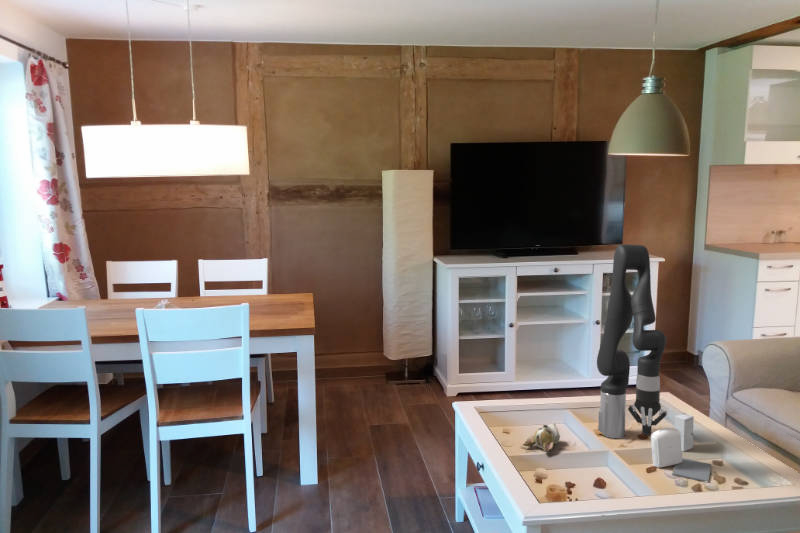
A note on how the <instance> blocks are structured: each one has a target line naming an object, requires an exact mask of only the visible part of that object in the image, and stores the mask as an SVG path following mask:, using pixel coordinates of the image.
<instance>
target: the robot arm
mask: <svg viewBox="0 0 800 533" xmlns="http://www.w3.org/2000/svg"><path fill="white" fill-rule="evenodd" d="M627 270H628V271H637V274H638V280H637V284H636V287H635V289H634V291H633V294H631V293H630V291H629V288H628V286H627V283H626V282H627V281H626V274H627V273H626V272H627ZM651 278H652V277H651V260H650V253H649V250H648V248H647V247H646V246H645V245H642V244H626V243H625V244H619V245H617V247H615V252H614V254H613V263H612V278H611V279H612V280H611V285H610V286H611V287H610V293H609V298H608V299H609V300H608V304H607V309H606V310H607V311H606V318H605V323H604V328H603V329H604V330H603V335H602V339H601V343H600V344H599V345H600V347H599V350H598V353H597V357H596V367H597V370H598V372H599V374H600V375H602V376H605V377H606V379H604V380H603V381H602V382H601V384H600V403H599V404H600V406H599V410H598V426H597V427H598V430H597V432H598V431H600V432H602V434H604V435H605V436H606V437H605V436H604V437H605V438H608V437H609V438H608V439H614V438H618V439H623V438H624V437H625V436H626V434H625V433H626V408H627V407H626V406H627V405H626V403H627V402H626V399H627V388H628V386H629V380H630V368H631V364H630V358H629V356H628V354H627V353H626V352H625V351H624V350H622V349H618V347H619V344H620V342H621V340H622V338H623V337H624V335H625V334H626V333H627V331H628V329H629V328H630V326H631V324H632V322H633V332H632V339H631V340H632V344H633V347H634V348H635V349H636V350H637V351H640V352H644V351H645V352H647V351H649V354H647V355H642V356H640V357H639V358H637V366H636V367H637V372H636V373H637V375H636V379H635V380H636V381H635V382H636V384H635V387H636V388H635V401H634V403H633V404H632V405H629V406H628V408H627V410H628V412H629V413H630V414H631V416H632V418H634V420H635V421H636V423H638V424H641V426H642V427H641V434H643V436H644V437H650V436H651V434H652V427H654V426H657V425H659V423H660V422H661V421H662V420H664V419H665V418H666V417H667V415H668V411H667V410H664V409H663V408H662V406H661V403H660V401H661V400H660V397H661V396H660V395H661V394H660V393H661V379H660V371H661V370H660V369H661V367H660V364H661V360H662V357H663V355H664V352H665V348H666V344H667V337H666V334H665V333H664V332H663V331H662V330H660V329H644V327H645V326H649V325H652V324H654V323H655V322H656V313H655V308H654V304H653V303H654V302H653V297H652V286H651V285H652V284H651V283H652V282H651ZM638 413H639V414H640V415H639V414H638ZM657 413H658V416H657V417H656V418H655V419H654V418H653V417H654V416H656V415H657Z"/></svg>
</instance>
